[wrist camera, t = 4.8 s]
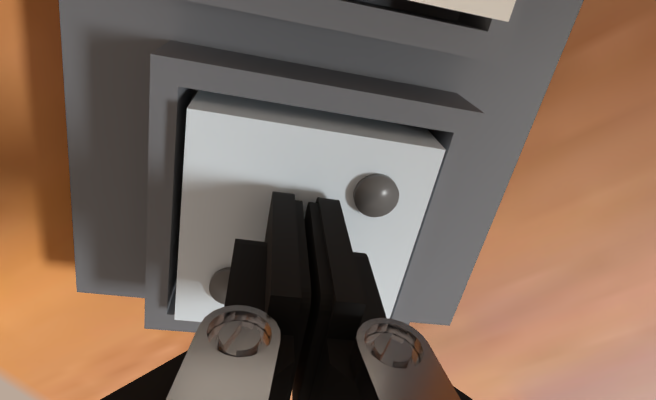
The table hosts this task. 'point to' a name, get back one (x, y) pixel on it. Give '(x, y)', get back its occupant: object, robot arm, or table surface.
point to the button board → (302, 91)
